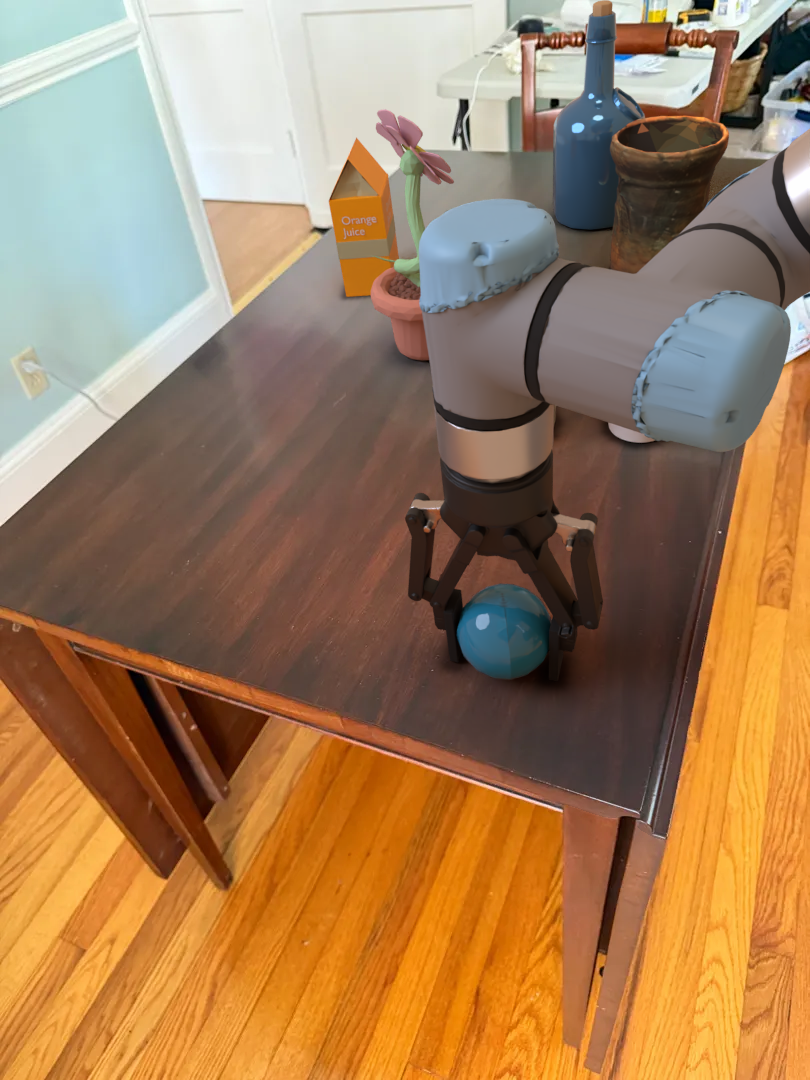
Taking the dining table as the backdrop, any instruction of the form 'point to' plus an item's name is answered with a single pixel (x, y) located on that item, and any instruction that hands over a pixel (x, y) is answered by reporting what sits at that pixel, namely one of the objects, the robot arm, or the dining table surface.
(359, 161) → the orange juice
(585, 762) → the dining table surface
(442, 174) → the decorative flower
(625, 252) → the vessel
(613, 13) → the wine bottle
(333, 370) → the dining table surface
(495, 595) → the ball
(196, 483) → the dining table surface
